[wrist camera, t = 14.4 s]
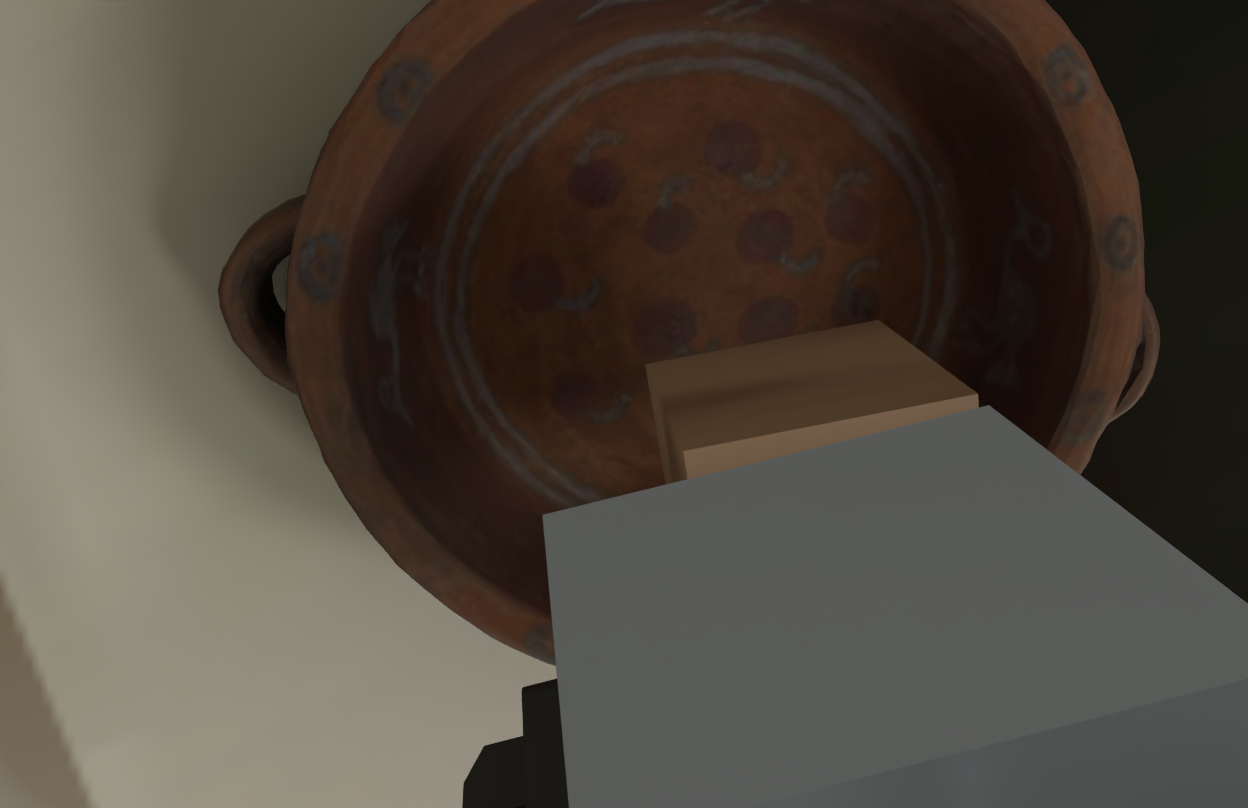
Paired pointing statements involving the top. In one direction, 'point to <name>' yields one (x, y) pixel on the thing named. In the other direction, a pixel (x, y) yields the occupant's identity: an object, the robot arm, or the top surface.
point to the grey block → (892, 637)
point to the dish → (679, 247)
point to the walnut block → (793, 397)
